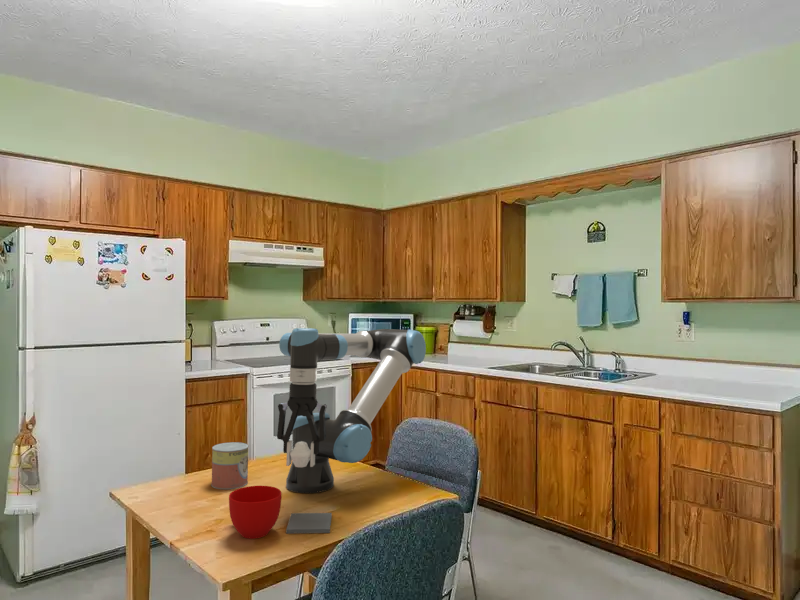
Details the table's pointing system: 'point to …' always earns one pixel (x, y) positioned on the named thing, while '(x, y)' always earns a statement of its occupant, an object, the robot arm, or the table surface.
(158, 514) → the table surface
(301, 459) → the white fluted round figurine
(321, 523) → the coaster
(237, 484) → the canned food
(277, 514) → the ceramic cup
